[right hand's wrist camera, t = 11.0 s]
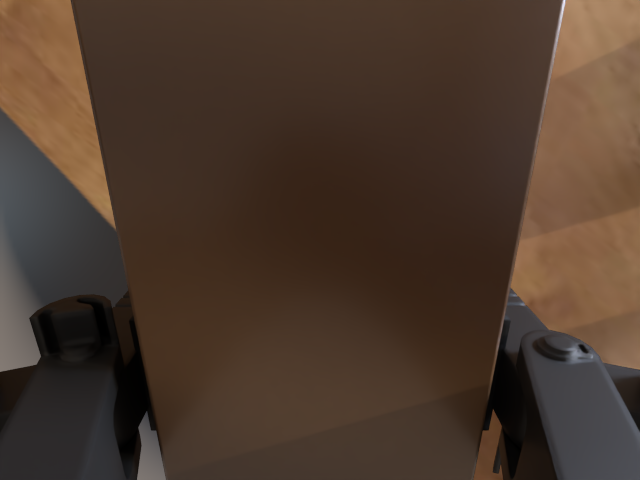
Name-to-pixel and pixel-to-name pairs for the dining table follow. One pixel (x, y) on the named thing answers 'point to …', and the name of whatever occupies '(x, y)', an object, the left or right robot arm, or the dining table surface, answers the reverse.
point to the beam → (318, 221)
